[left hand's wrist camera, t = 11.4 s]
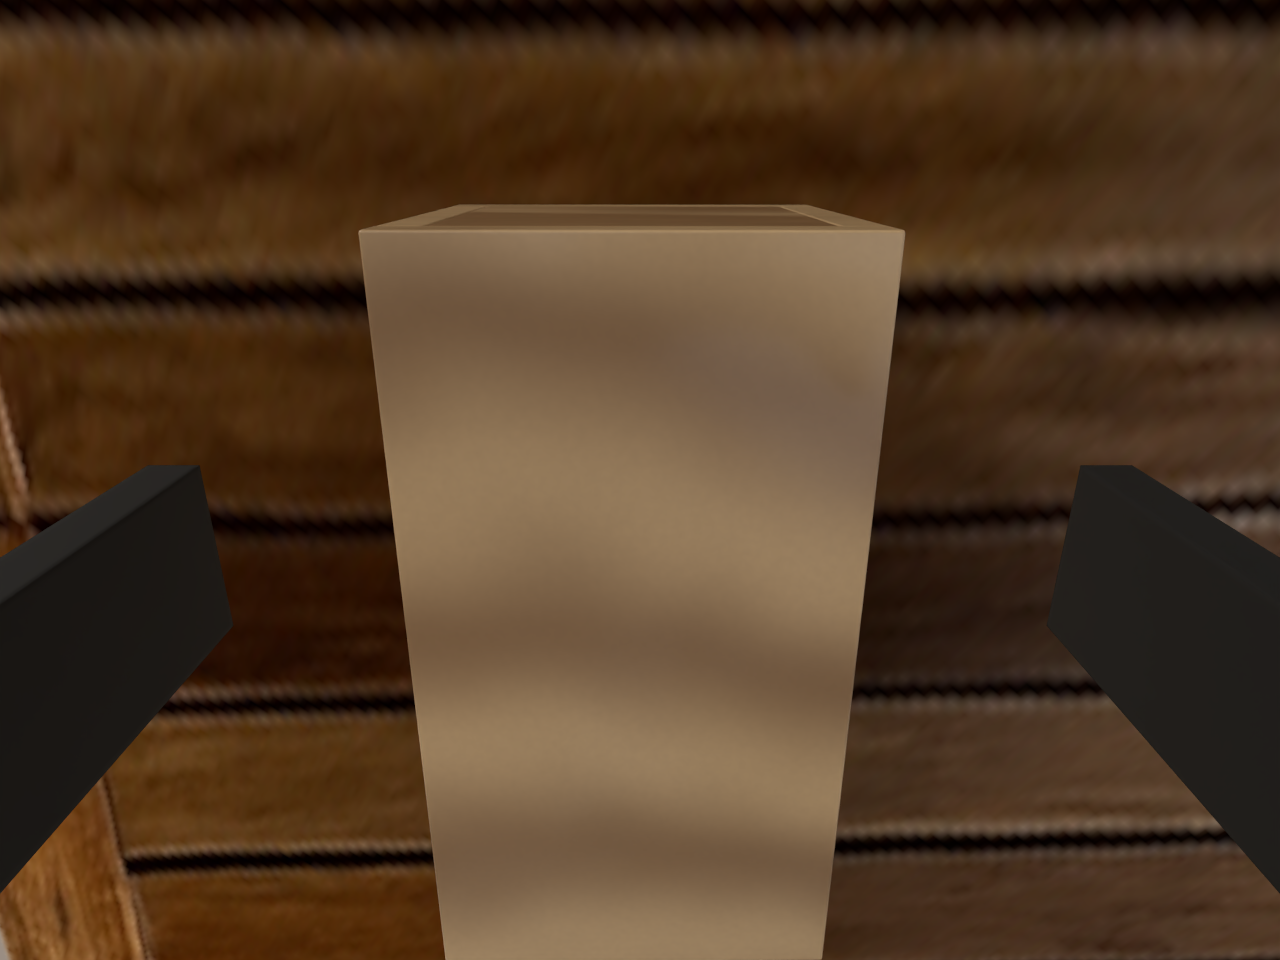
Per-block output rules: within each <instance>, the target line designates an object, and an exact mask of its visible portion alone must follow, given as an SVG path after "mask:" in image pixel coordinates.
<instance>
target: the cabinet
mask: <svg viewBox="0 0 1280 960" xmlns="http://www.w3.org/2000/svg"><path fill="white" fill-rule="evenodd" d="M359 241H360V250H361V258H362V266H363V275H364V283H365V291H366V300H367V308H368V316H369V325H370V333H371V341H372V350H373V358H374V366H375V375H376V383H377V391H378V400H379V408H380V416H381V425H382V433H383V441H384V450H385V458H386V466H387V475H388V483H389V491H390V500H391V508H392V516H393V525H394V533H395V541H396V550H397V558H398V566H399V575H400V583H401V591H402V600H403V608H404V616H405V625H406V633H407V641H408V650H409V658H410V666H411V675H412V683H413V691H414V700H415V708H416V716H417V725H418V733H419V741H420V750H421V758H422V766H423V775H424V783H425V791H426V800H427V808H428V816H429V825H430V833H431V841H432V850H433V858H434V866H435V875H436V883H437V891H438V899H439V908H440V916H441V924H442V933H443V941H444V949H445V958H446V960H821V959H822V954H823V945H824V936H825V927H826V919H827V910H828V901H829V893H830V884H831V875H832V867H833V858H834V849H835V841H836V832H837V823H838V814H839V806H840V797H841V788H842V780H843V771H844V762H845V754H846V745H847V736H848V727H849V719H850V710H851V701H852V693H853V684H854V675H855V667H856V658H857V649H858V641H859V632H860V623H861V614H862V606H863V597H864V588H865V580H866V571H867V562H868V554H869V545H870V536H871V527H872V519H873V510H874V501H875V493H876V484H877V475H878V467H879V458H880V449H881V441H882V432H883V423H884V414H885V406H886V397H887V388H888V380H889V371H890V362H891V354H892V345H893V336H894V328H895V319H896V310H897V301H898V293H899V284H900V275H901V267H902V258H903V249H904V241H905V231H904V230H901V229H897V228H894V227H890V226H885V225H881V224H878V223H874V222H870V221H866V220H862V219H859V218H855V217H851V216H847V215H843V214H839V213H836V212H832V211H828V210H824V209H820V208H816V207H813V206H809V205H456V206H452V207H449V208H445V209H441V210H437V211H433V212H429V213H425V214H421V215H417V216H414V217H410V218H406V219H402V220H398V221H394V222H390V223H386V224H382V225H378V226H373V227H369V228H365V229H362V230H359Z"/></svg>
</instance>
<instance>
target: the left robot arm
mask: <svg viewBox="0 0 1280 960" xmlns="http://www.w3.org/2000/svg"><path fill="white" fill-rule="evenodd" d="M232 626H233V622H232V617H231V613H230V608H229V603H228V598H227V594H226V589H225V584H224V579H223V575H222V570H221V565H220V561H219V556H218V551H217V546H216V542H215V537H214V532H213V527H212V523H211V518H210V513H209V509H208V504H207V499H206V494H205V490H204V485H203V480H202V476H201V471H200V466H199V465H148V466H146V467H145V468H143V469H141V470H140V471H138V472H137V473H135V474H133V475H132V476H130V477H129V478H127V479H125V480H124V481H122V482H121V483H119V484H117V485H116V486H114V487H113V488H111V489H109V490H108V491H106V492H105V493H103V494H101V495H100V496H98V497H97V498H95V499H93V500H92V501H90V502H89V503H87V504H85V505H84V506H82V507H81V508H79V509H77V510H76V511H74V512H73V513H71V514H69V515H68V516H66V517H65V518H63V519H61V520H60V521H58V522H57V523H55V524H53V525H52V526H50V527H49V528H47V529H45V530H44V531H42V532H41V533H39V534H37V535H36V536H34V537H33V538H31V539H29V540H28V541H26V542H25V543H23V544H21V545H20V546H18V547H17V548H15V549H13V550H12V551H10V552H9V553H7V554H5V555H4V556H2V557H1V558H0V893H1V892H2V891H3V890H4V888H5V887H6V886H7V885H8V884H9V883H10V882H11V880H12V879H13V878H14V877H15V876H16V875H17V873H18V872H19V871H20V870H21V869H22V868H23V867H24V865H25V864H26V863H27V862H28V861H29V860H30V859H31V857H32V856H33V855H34V854H35V853H36V852H37V850H38V849H39V848H40V847H41V846H42V845H43V844H44V842H45V841H46V840H47V839H48V838H49V837H50V836H51V834H52V833H53V832H54V831H55V830H56V829H57V828H58V826H59V825H60V824H61V823H62V822H63V821H64V819H65V818H66V817H67V816H68V815H69V814H70V813H71V811H72V810H73V809H74V808H75V807H76V806H77V805H78V803H79V802H80V801H81V800H82V799H83V798H84V796H85V795H86V794H87V793H88V792H89V791H90V790H91V788H92V787H93V786H94V785H95V784H96V783H97V782H98V780H99V779H100V778H101V777H102V776H103V775H104V773H105V772H106V771H107V770H108V769H109V768H110V767H111V765H112V764H113V763H114V762H115V761H116V760H117V759H118V757H119V756H120V755H121V754H122V753H123V752H124V751H125V749H126V748H127V747H128V746H129V745H130V744H131V742H132V741H133V740H134V739H135V738H136V737H137V736H138V734H139V733H140V732H141V731H142V730H143V729H144V728H145V726H146V725H147V724H148V723H149V722H150V721H151V719H152V718H153V717H154V716H155V715H156V714H157V713H158V711H159V710H160V709H161V708H162V707H163V706H164V705H165V703H166V702H167V701H168V700H169V699H170V698H171V696H172V695H173V694H174V693H175V692H176V691H177V690H178V688H179V687H180V686H181V685H182V684H183V683H184V682H185V680H186V679H187V678H188V677H189V676H190V675H191V674H192V672H193V671H194V670H195V669H196V668H197V667H198V665H199V664H200V663H201V662H202V661H203V660H204V659H205V657H206V656H207V655H208V654H209V653H210V652H211V651H212V649H213V648H214V647H215V646H216V645H217V644H218V642H219V641H220V640H221V639H222V638H223V637H224V636H225V634H226V633H227V632H228V631H229V630H230V629H231V628H232ZM1047 626H1048V628H1049V629H1050V630H1051V631H1052V632H1053V633H1054V634H1055V636H1056V637H1057V638H1058V639H1059V640H1060V641H1061V642H1062V644H1063V645H1064V646H1065V647H1066V648H1067V649H1068V651H1069V652H1070V653H1071V654H1072V655H1073V656H1074V657H1075V659H1076V660H1077V661H1078V662H1079V663H1080V664H1081V665H1082V667H1083V668H1084V669H1085V670H1086V671H1087V672H1088V674H1089V675H1090V676H1091V677H1092V678H1093V679H1094V680H1095V682H1096V683H1097V684H1098V685H1099V686H1100V687H1101V688H1102V690H1103V691H1104V692H1105V693H1106V694H1107V695H1108V696H1109V698H1110V699H1111V700H1112V701H1113V702H1114V703H1115V705H1116V706H1117V707H1118V708H1119V709H1120V710H1121V711H1122V713H1123V714H1124V715H1125V716H1126V717H1127V718H1128V719H1129V721H1130V722H1131V723H1132V724H1133V725H1134V726H1135V728H1136V729H1137V730H1138V731H1139V732H1140V733H1141V734H1142V736H1143V737H1144V738H1145V739H1146V740H1147V741H1148V742H1149V744H1150V745H1151V746H1152V747H1153V748H1154V749H1155V751H1156V752H1157V753H1158V754H1159V755H1160V756H1161V757H1162V759H1163V760H1164V761H1165V762H1166V763H1167V764H1168V765H1169V767H1170V768H1171V769H1172V770H1173V771H1174V772H1175V773H1176V775H1177V776H1178V777H1179V778H1180V779H1181V780H1182V782H1183V783H1184V784H1185V785H1186V786H1187V787H1188V788H1189V790H1190V791H1191V792H1192V793H1193V794H1194V795H1195V796H1196V798H1197V799H1198V800H1199V801H1200V802H1201V803H1202V805H1203V806H1204V807H1205V808H1206V809H1207V810H1208V811H1209V813H1210V814H1211V815H1212V816H1213V817H1214V818H1215V819H1216V821H1217V822H1218V823H1219V824H1220V825H1221V826H1222V828H1223V829H1224V830H1225V831H1226V832H1227V833H1228V834H1229V836H1230V837H1231V838H1232V839H1233V840H1234V841H1235V842H1236V844H1237V845H1238V846H1239V847H1240V848H1241V849H1242V850H1243V852H1244V853H1245V854H1246V855H1247V856H1248V857H1249V859H1250V860H1251V861H1252V862H1253V863H1254V864H1255V865H1256V867H1257V868H1258V869H1259V870H1260V871H1261V872H1262V873H1263V875H1264V876H1265V877H1266V878H1267V879H1268V880H1269V882H1270V883H1271V884H1272V885H1273V886H1274V887H1275V888H1276V890H1277V891H1278V892H1279V893H1280V558H1279V557H1278V556H1276V555H1275V554H1273V553H1271V552H1270V551H1268V550H1267V549H1265V548H1263V547H1262V546H1260V545H1259V544H1257V543H1255V542H1254V541H1252V540H1251V539H1249V538H1247V537H1246V536H1244V535H1243V534H1241V533H1239V532H1238V531H1236V530H1235V529H1233V528H1231V527H1230V526H1228V525H1227V524H1225V523H1223V522H1222V521H1220V520H1219V519H1217V518H1215V517H1214V516H1212V515H1211V514H1209V513H1207V512H1206V511H1204V510H1203V509H1201V508H1199V507H1198V506H1196V505H1195V504H1193V503H1191V502H1190V501H1188V500H1187V499H1185V498H1183V497H1182V496H1180V495H1179V494H1177V493H1175V492H1174V491H1172V490H1171V489H1169V488H1167V487H1166V486H1164V485H1163V484H1161V483H1159V482H1158V481H1156V480H1155V479H1153V478H1151V477H1150V476H1148V475H1147V474H1145V473H1143V472H1142V471H1140V470H1139V469H1137V468H1135V467H1134V466H1132V465H1081V466H1080V471H1079V476H1078V480H1077V485H1076V490H1075V494H1074V499H1073V504H1072V509H1071V513H1070V518H1069V523H1068V527H1067V532H1066V537H1065V542H1064V546H1063V551H1062V556H1061V561H1060V565H1059V570H1058V575H1057V579H1056V584H1055V589H1054V594H1053V598H1052V603H1051V608H1050V613H1049V617H1048V622H1047Z"/></svg>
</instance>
